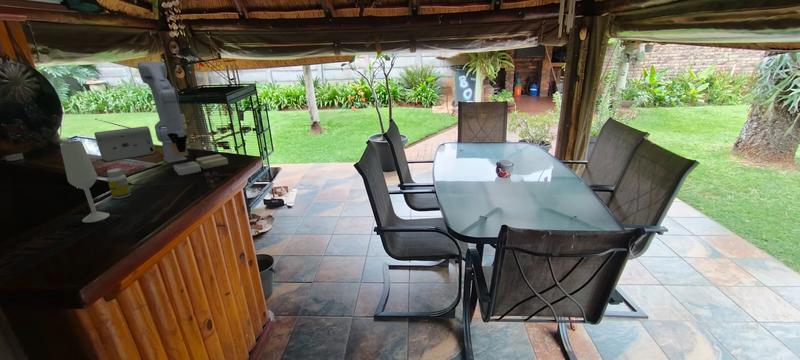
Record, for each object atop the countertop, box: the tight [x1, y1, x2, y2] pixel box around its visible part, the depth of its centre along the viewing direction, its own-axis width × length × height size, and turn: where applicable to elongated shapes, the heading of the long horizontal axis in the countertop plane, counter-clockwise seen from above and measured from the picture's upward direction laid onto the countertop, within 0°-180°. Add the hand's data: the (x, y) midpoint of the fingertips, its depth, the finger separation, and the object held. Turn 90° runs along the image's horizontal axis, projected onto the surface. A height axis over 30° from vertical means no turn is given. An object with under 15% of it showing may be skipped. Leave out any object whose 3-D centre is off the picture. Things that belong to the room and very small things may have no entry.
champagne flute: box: [59, 140, 110, 223], centre depth 106 cm, size 7×7×24 cm
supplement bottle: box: [106, 167, 132, 200], centre depth 124 cm, size 5×5×10 cm
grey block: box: [173, 161, 202, 176], centre depth 151 cm, size 8×8×3 cm
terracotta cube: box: [169, 143, 189, 158], centre depth 150 cm, size 5×5×5 cm
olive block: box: [195, 153, 229, 170], centre depth 160 cm, size 10×10×3 cm
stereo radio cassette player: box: [94, 118, 156, 163], centre depth 167 cm, size 21×8×20 cm, turn 133°
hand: (180, 150), depth 150 cm, fingers closed on terracotta cube, 5 cm apart
